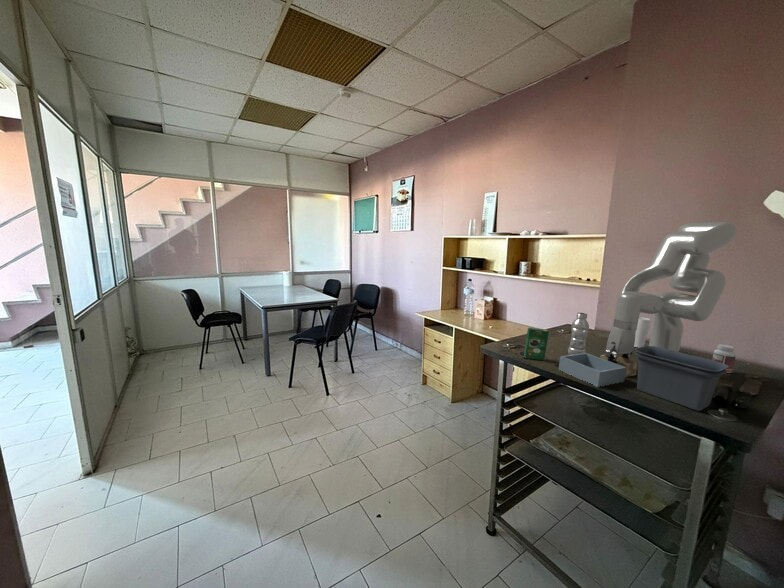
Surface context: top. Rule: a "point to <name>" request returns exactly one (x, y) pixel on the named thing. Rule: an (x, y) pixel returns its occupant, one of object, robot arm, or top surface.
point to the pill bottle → (725, 356)
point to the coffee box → (536, 343)
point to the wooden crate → (625, 364)
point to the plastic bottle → (578, 334)
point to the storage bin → (678, 376)
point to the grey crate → (592, 369)
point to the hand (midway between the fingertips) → (617, 368)
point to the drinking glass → (642, 331)
